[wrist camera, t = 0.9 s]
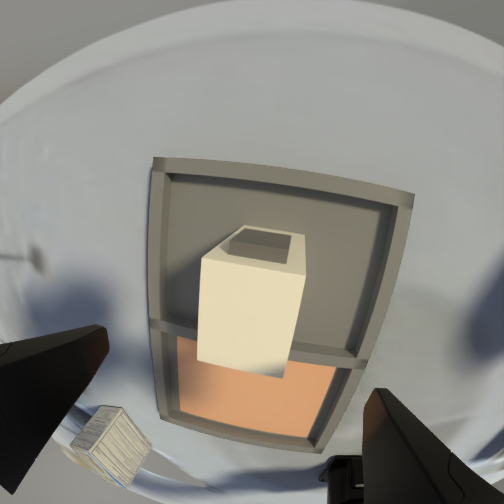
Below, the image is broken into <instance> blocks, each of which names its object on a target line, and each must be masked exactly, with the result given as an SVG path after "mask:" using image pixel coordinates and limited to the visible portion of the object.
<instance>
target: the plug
mask: <svg viewBox="0 0 504 504" xmlns="http://www.w3.org/2000/svg"><path fill="white" fill-rule="evenodd" d="M305 279H306V255H305V235H303V234H297V233H291V232H285V231H279V230H272V229H266V228H260V227H253V226H247V225H244V226H242V227H241V228H240V229H238V230H237V231H236V232H234V233H233V234H232V235H231V236H229V237H228V238H227V239H225V240H224V241H223V242H221V243H220V244H219V245H217V246H216V247H215V248H214V249H212V250H211V251H210V252H208V253H207V254H206V255H204V256H203V257H202V260H201V275H200V292H199V313H198V341H197V360H199V361H202V362H206V363H210V364H214V365H218V366H222V367H227V368H231V369H235V370H240V371H245V372H249V373H254V374H259V375H265V376H270V377H276V378H282V379H283V376H284V372H285V368H286V364H287V360H288V356H289V352H290V348H291V343H292V339H293V335H294V330H295V326H296V322H297V317H298V313H299V308H300V303H301V299H302V294H303V289H304V284H305Z"/></svg>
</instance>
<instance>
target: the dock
mask: <svg viewBox="0 0 504 504" xmlns="http://www.w3.org/2000/svg"><path fill="white" fill-rule="evenodd" d="M414 196H415V194H413V193H409V192H405V191H401V190H397V189H393V188H389V187H385V186H380V185H376V184H372V183H367V182H362V181H357V180H352V179H347V178H342V177H337V176H332V175H326V174H320V173H314V172H308V171H302V170H295V169H288V168H281V167H274V166H266V165H257V164H248V163H239V162H228V161H217V160H203V159H187V158H165V157H154V158H153V168H152V179H151V191H150V206H149V227H148V301H149V322H150V337H151V350H152V360H153V370H154V379H155V387H156V394H157V401H158V408H159V414H160V419H162V420H164V421H167V422H170V423H173V424H176V425H179V426H182V427H185V428H188V429H191V430H195V431H198V432H201V433H205V434H209V435H212V436H216V437H220V438H224V439H228V440H232V441H237V442H241V443H246V444H251V445H257V446H262V447H268V448H274V449H281V450H289V451H297V452H307V453H318V454H322V452H323V450H324V449H325V447H326V445H327V443H328V442H329V440H330V438H331V437H332V435H333V433H334V431H335V429H336V428H337V426H338V424H339V422H340V420H341V418H342V416H343V414H344V412H345V411H346V409H347V407H348V405H349V403H350V400H351V398H352V396H353V394H354V392H355V390H356V388H357V386H358V384H359V381H360V379H361V377H362V375H363V372H364V370H365V368H366V365H367V363H368V360H369V358H370V356H371V353H372V351H373V348H374V345H375V343H376V340H377V338H378V335H379V332H380V329H381V327H382V324H383V321H384V318H385V315H386V312H387V309H388V306H389V303H390V299H391V296H392V293H393V290H394V286H395V283H396V279H397V276H398V272H399V268H400V264H401V260H402V256H403V252H404V248H405V243H406V239H407V234H408V230H409V225H410V219H411V214H412V208H413V202H414ZM244 225H247V226H253V227H260V228H266V229H272V230H279V231H285V232H291V233H297V234H303V235H305V255H306V279H305V284H304V289H303V294H302V299H301V303H300V308H299V313H298V317H297V322H296V326H295V330H294V335H293V339H292V343H291V348H290V352H289V356H288V360H287V364H286V368H285V372H284V376H283V379H282V378H276V377H270V376H265V375H259V374H254V373H249V372H245V371H240V370H235V369H231V368H227V367H222V366H218V365H214V364H210V363H206V362H202V361H199V360H197V341H198V313H199V292H200V275H201V260H202V257H203V256H204V255H206V254H207V253H208V252H210V251H211V250H212V249H214V248H215V247H216V246H217V245H219V244H220V243H221V242H223V241H224V240H225V239H227V238H228V237H229V236H231V235H232V234H233V233H234V232H236V231H237V230H238V229H240V228H241V227H242V226H244Z"/></svg>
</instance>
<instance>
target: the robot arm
mask: <svg viewBox="0 0 504 504" xmlns="http://www.w3.org/2000/svg"><path fill="white" fill-rule="evenodd" d="M108 352H109V340H108V334H107V330H106V328H105V327H103V326H100V325H97V324H94V325H90V326H86V327H81V328H77V329H72V330H68V331H63V332H59V333H54V334H50V335H45V336H40V337H35V338H30V339H25V340H20V341H15V342H10V343H5V344H0V485H1V486H2V487H3V488H4V489H5V490H7V491H8V492H9V493H10V494H11V495H13V494H14V493H15V491H16V489H17V488H18V486H19V485H20V483H21V481H22V480H23V478H24V477H25V475H26V473H27V472H28V470H29V469H30V467H31V466H32V464H33V463H34V461H35V459H36V458H37V456H38V455H39V453H40V452H41V450H42V449H43V447H44V446H45V444H46V443H47V442H48V440H49V439H50V437H51V436H52V434H53V433H54V431H55V430H56V429H57V427H58V426H59V424H60V423H61V422H62V420H63V419H64V417H65V416H66V415H67V413H68V412H69V410H70V409H71V408H72V406H73V405H74V404H75V402H76V401H77V400H78V398H79V397H80V395H81V394H82V393H83V391H84V390H85V389H86V387H87V386H88V385H89V383H90V382H91V380H92V379H93V377H94V375H95V374H96V372H97V370H98V369H99V367H100V365H101V364H102V362H103V360H104V359H105V357H106V356H107V354H108ZM319 481H320V482H328V493H327V504H504V494H503V493H501V492H500V491H499V490H497V489H496V488H494V487H493V486H492V485H490V484H489V483H488V482H486V481H485V480H484V479H483V478H481V477H480V476H479V475H477V474H476V473H475V472H474V471H472V470H471V469H470V468H469V467H468V466H467V465H465V464H464V463H463V462H462V461H461V460H460V459H459V458H458V457H457V456H456V455H455V454H454V453H453V452H451V450H450V449H449V448H447V447H446V446H445V445H444V444H443V443H442V442H441V441H440V440H439V439H438V438H437V437H436V436H435V435H434V434H433V433H432V432H431V431H430V430H429V429H428V428H427V427H426V426H425V425H424V424H423V423H422V422H421V421H420V420H419V419H418V418H417V417H416V416H415V415H414V414H413V413H412V412H411V411H410V410H409V409H408V408H407V407H405V406H404V405H403V404H402V403H401V402H400V401H399V400H398V399H397V398H396V397H395V396H394V395H393V394H392V393H391V392H390V391H389V390H388V389H386V388H375V389H374V390H373V391H372V393H371V395H370V397H369V399H368V401H367V402H366V404H365V407H364V411H363V442H362V456H336V457H334V458H333V459H332V461H331V462H330V464H329V465H328V466H327V468H326V469H325V471H324V472H323V473H322V475H321V476H320V477H319Z"/></svg>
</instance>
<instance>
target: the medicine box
mask: <svg viewBox="0 0 504 504" xmlns="http://www.w3.org/2000/svg"><path fill="white" fill-rule="evenodd" d="M70 447H71V448H72V449H73V450H74V451H75V452H76V454H77V455H78V456H79V457H80V458H81V459H82V460H83V461H84V462H85V463H86V464H87V465H88V466H89V467H90V468H91V469H92V470H93V471H94V472H95V473H97V474H98V475H99V476H100V477H101V478H102V479H103V480H104V481H106V482H109V483H111V484H113V485H116V486H119V487H123V488H128V487H129V485H130V484H131V482H132V480H133V479H134V477H135V475H136V473H137V472H138V470H139V468H140V467H141V465H142V463H143V461H144V460H145V458H146V456H147V455H148V453H149V451H150V449H151V448H152V445H151V444H150V443H149V442H148V441H147V439H146V438H145V437H144V436H143V435H142V433H141V432H140V431H139V430H138V429H137V427H136V426H135V425H134V423H133V422H132V421H131V420H130V418H129V417H128V416H127V414H126V413H125V412H124V410H123V409H122V408H117V407H107V406H101V407H100V408H99V409H98V410H97V412H96V413H95V414H94V415H93V416H92V418H91V419H90V420H89V421H88V423H87V424H86V425H85V426H84V427H83V429H82V430H81V431H80V432H79V433H78V435H77V436H76V437H75V438H74V440H73V441H72V442H71V443H70Z"/></svg>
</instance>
